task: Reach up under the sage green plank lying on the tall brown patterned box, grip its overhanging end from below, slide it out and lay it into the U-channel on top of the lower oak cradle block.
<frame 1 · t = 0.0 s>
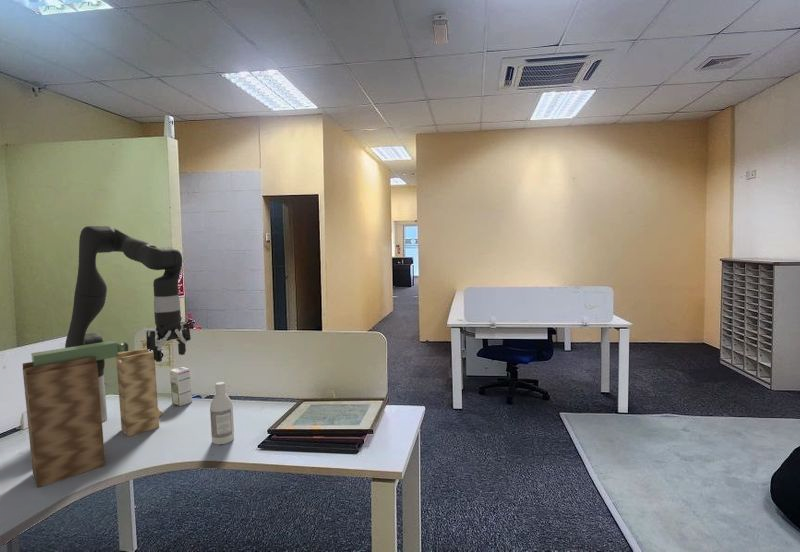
hand: (170, 357, 143), 29 cm above the table, tool pointing down, fingers open, 8 cm apart
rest: (140, 428, 157), on the table
sage green plank: (33, 369, 122), point 32 cm above the table, touching brown patterned box
hand bell: (150, 416, 168), on the table
brown patterned box: (69, 469, 130), on the table
syrup box: (182, 403, 181), on the table
bath foam: (223, 441, 147), on the table
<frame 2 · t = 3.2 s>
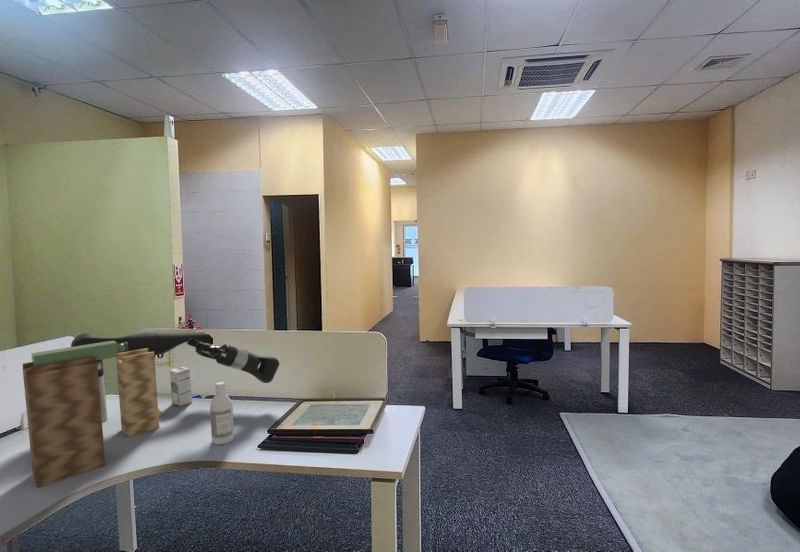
hand: (192, 343, 155), 31 cm above the table, tool pointing upward, fingers open, 8 cm apart
nothing on the table moved.
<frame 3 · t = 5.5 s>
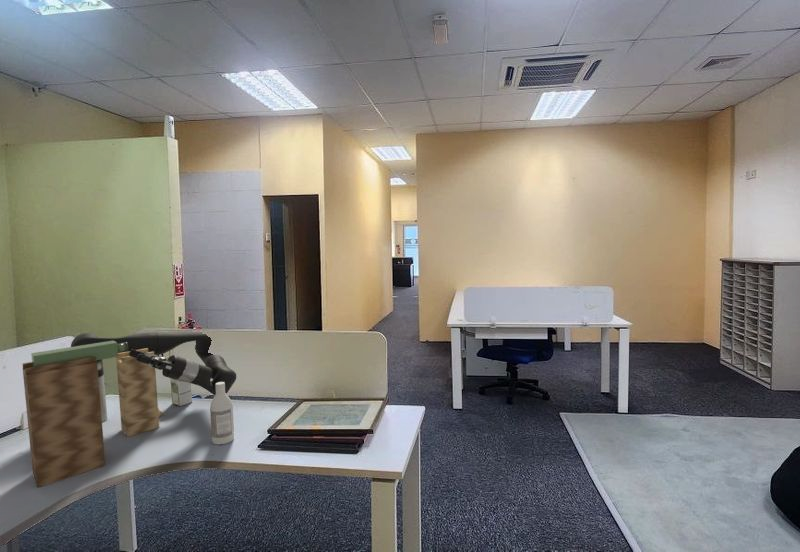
hand: (133, 354, 140), 31 cm above the table, tool pointing upward, fingers open, 8 cm apart
nothing on the table moved.
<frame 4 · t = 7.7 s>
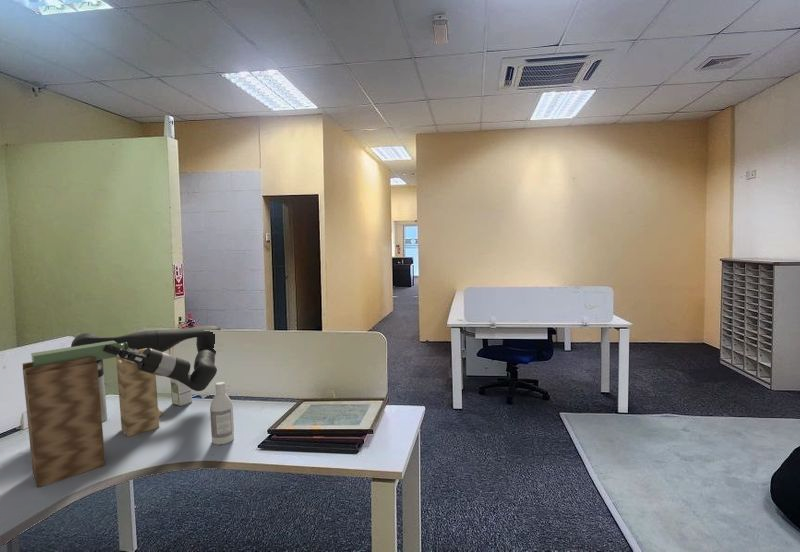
hand: (102, 346, 134), 36 cm above the table, tool pointing upward, fingers closed on sage green plank, 4 cm apart
sage green plank: (33, 369, 122), point 32 cm above the table, touching gripper, brown patterned box
everything else where it was.
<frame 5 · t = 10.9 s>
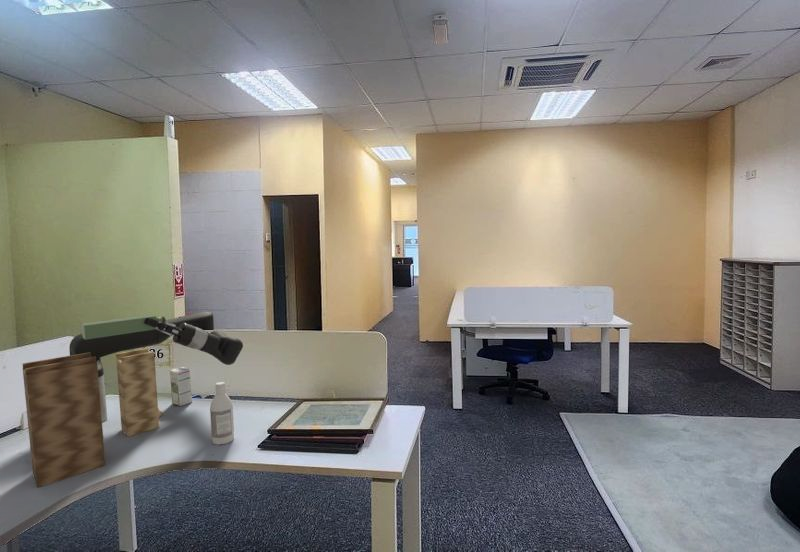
hand: (143, 319, 147), 41 cm above the table, tool pointing upward, fingers closed on sage green plank, 4 cm apart
sage green plank: (83, 338, 135), point 38 cm above the table, touching gripper
everything else where it was.
when the fingers open (31 cm above the table, at t = 14.0 s): sage green plank drops 1 cm, resting on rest.
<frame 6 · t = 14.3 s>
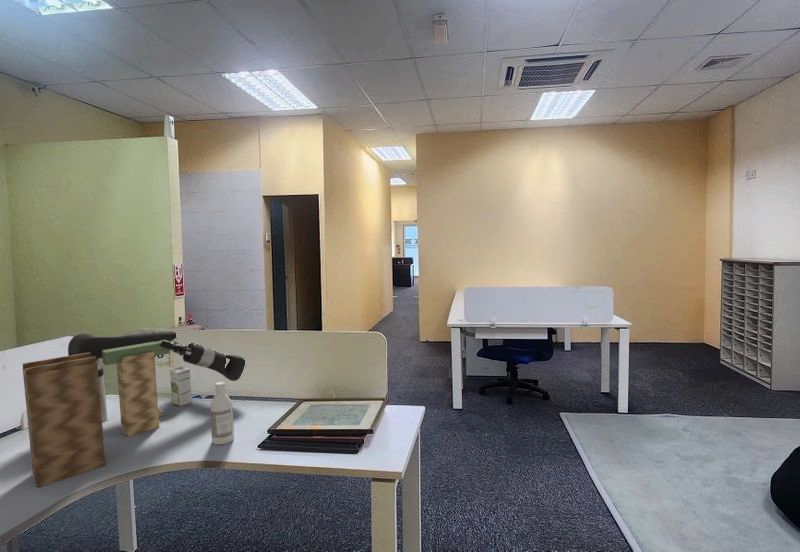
hand: (158, 341, 160), 31 cm above the table, tool pointing upward, fingers open, 7 cm apart
sage green plank: (104, 364, 148), point 26 cm above the table, touching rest
everything else where it was.
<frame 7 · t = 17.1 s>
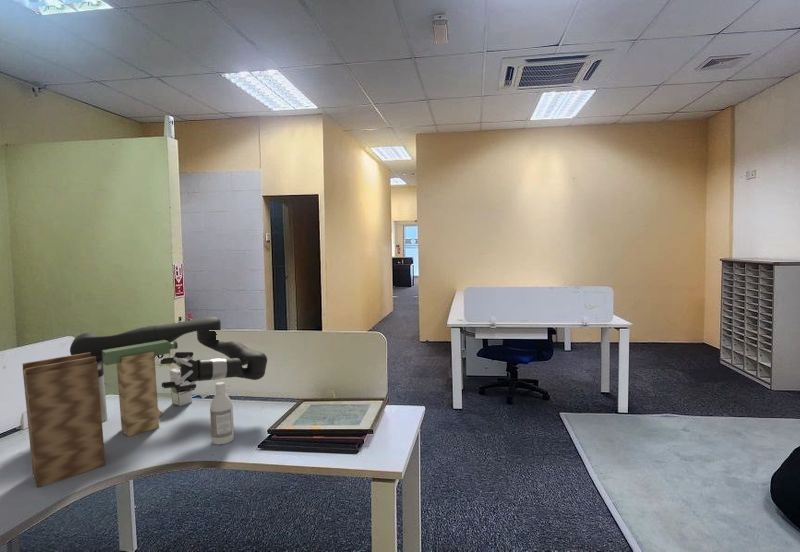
hand: (161, 373, 149), 22 cm above the table, tool horizontal, fingers open, 8 cm apart
nothing on the table moved.
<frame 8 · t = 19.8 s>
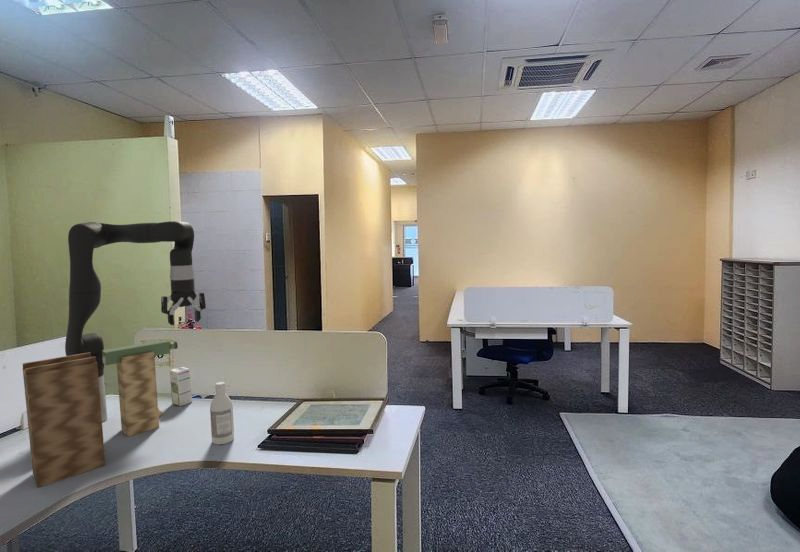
hand: (185, 323, 155), 38 cm above the table, tool pointing down, fingers open, 8 cm apart
nothing on the table moved.
at the end: sage green plank inside the target area on the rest (0.2 cm from its centre), point 26.0 cm above the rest's base; sage green plank touching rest; the gripper is holding nothing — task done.
